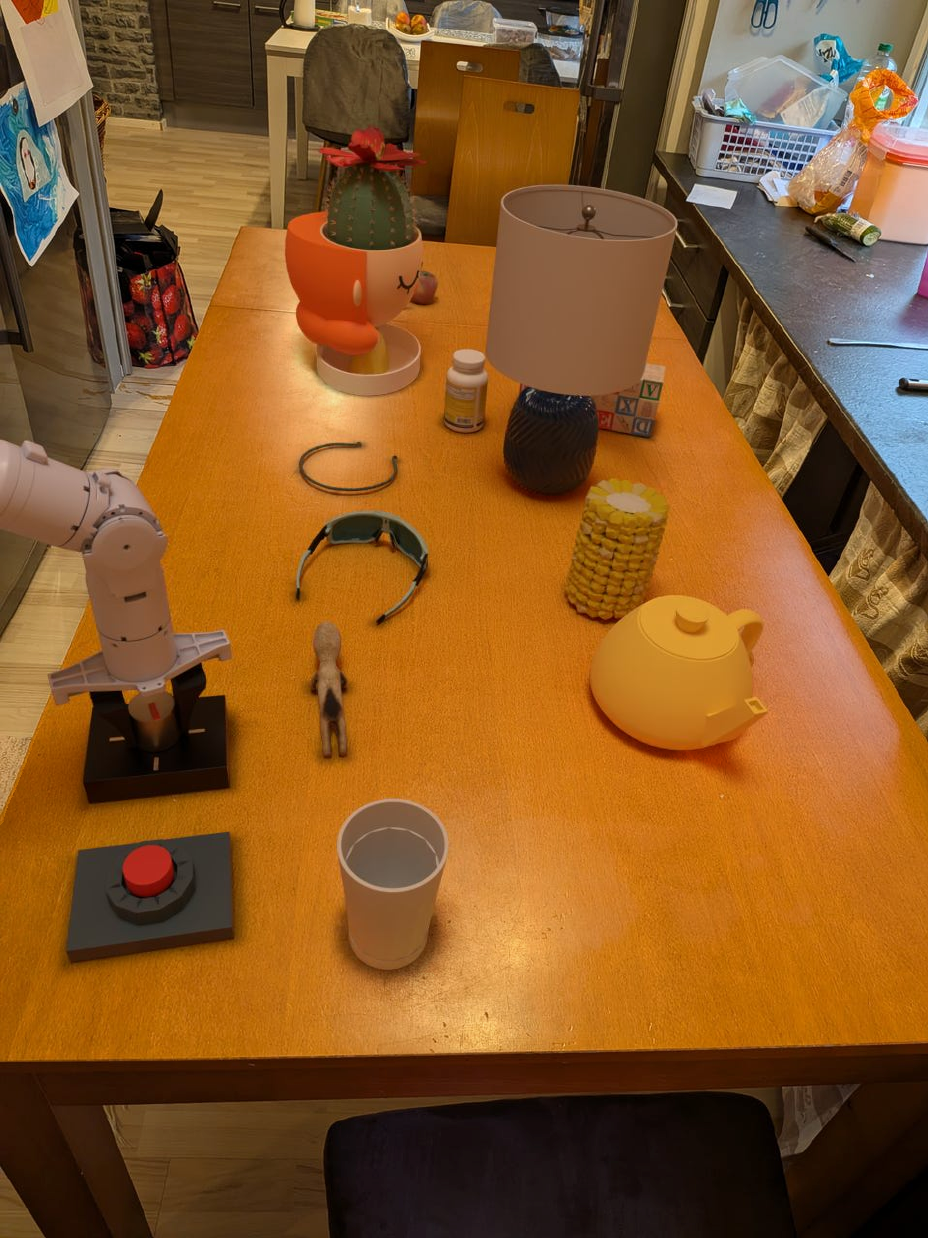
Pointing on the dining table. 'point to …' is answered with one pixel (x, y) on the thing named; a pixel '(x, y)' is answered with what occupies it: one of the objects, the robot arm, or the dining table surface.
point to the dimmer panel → (159, 758)
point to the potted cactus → (359, 270)
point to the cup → (391, 879)
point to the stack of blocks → (631, 404)
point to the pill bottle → (466, 392)
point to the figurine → (329, 686)
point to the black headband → (343, 488)
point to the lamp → (571, 318)
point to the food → (616, 548)
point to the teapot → (679, 673)
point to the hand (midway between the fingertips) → (156, 732)
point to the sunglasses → (370, 529)
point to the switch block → (151, 900)
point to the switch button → (148, 871)
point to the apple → (426, 288)
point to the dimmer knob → (154, 721)
